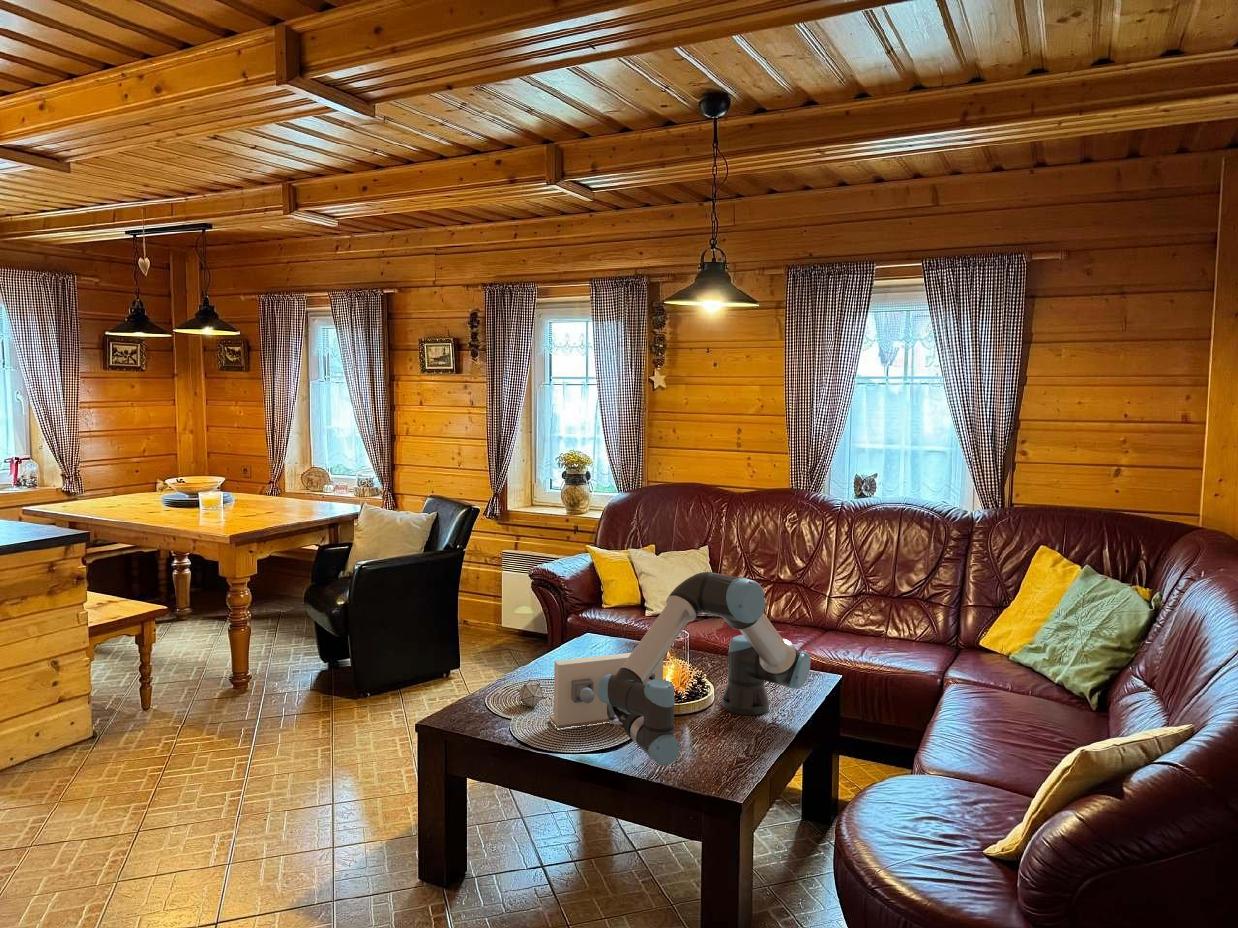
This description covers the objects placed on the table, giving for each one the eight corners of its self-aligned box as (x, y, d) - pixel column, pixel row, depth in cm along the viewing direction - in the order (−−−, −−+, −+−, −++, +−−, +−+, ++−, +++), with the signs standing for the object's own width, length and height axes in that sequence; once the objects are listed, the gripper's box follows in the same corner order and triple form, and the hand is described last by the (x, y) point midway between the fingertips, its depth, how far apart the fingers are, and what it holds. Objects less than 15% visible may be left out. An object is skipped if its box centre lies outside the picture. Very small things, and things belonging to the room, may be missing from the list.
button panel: (549, 720, 255) (550, 656, 253) (651, 706, 267) (652, 645, 266) (560, 734, 244) (561, 668, 243) (665, 719, 257) (667, 656, 255)
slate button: (579, 701, 244) (579, 688, 244) (592, 699, 245) (592, 686, 245) (581, 703, 242) (581, 690, 242) (594, 702, 244) (594, 688, 243)
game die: (537, 717, 267) (555, 694, 264) (518, 714, 260) (536, 691, 258) (525, 696, 273) (543, 674, 270) (506, 693, 266) (525, 670, 264)
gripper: (619, 746, 217) (587, 713, 238) (664, 739, 222) (629, 707, 243) (619, 718, 216) (587, 687, 238) (665, 711, 221) (629, 682, 243)
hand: (608, 697), depth 240 cm, fingers closed
